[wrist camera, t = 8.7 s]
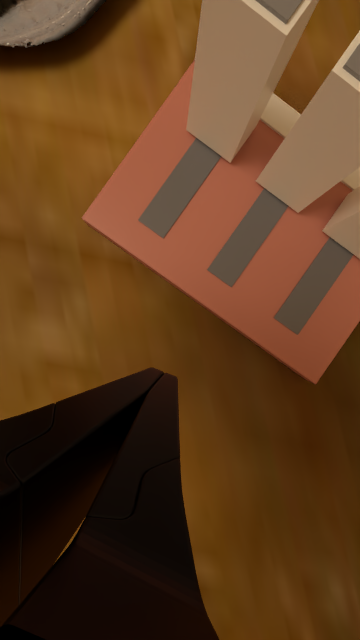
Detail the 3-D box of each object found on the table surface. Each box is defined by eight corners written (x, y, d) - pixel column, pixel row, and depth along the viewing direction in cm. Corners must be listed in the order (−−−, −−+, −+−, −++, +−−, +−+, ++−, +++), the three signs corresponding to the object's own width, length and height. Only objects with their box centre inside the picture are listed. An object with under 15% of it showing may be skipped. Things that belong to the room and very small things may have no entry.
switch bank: (305, 379, 22) (318, 385, 20) (87, 224, 21) (80, 216, 19) (413, 223, 22) (435, 214, 20) (203, 62, 21) (207, 38, 19)
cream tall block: (230, 163, 20) (288, 31, 11) (186, 129, 19) (206, -34, 10) (256, 125, 20) (337, -38, 11) (212, 92, 20) (256, -104, 10)
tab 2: (298, 213, 20) (411, 127, 11) (255, 181, 20) (334, 66, 11) (323, 176, 20) (458, 59, 11) (281, 143, 20) (382, -2, 11)
